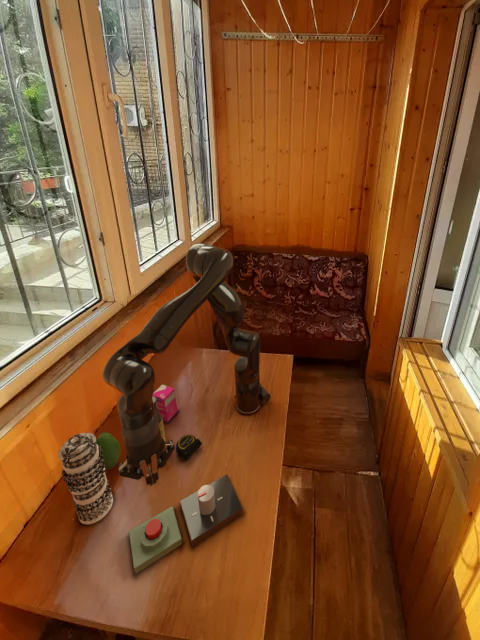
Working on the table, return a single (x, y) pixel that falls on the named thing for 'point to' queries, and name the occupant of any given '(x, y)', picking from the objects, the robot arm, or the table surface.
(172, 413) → the supplement box
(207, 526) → the hob panel
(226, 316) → the robot arm
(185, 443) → the tape measure
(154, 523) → the power button
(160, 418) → the sauce bottle
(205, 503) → the stove knob
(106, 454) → the avocado
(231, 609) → the table surface
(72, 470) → the decorative candle
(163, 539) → the block
